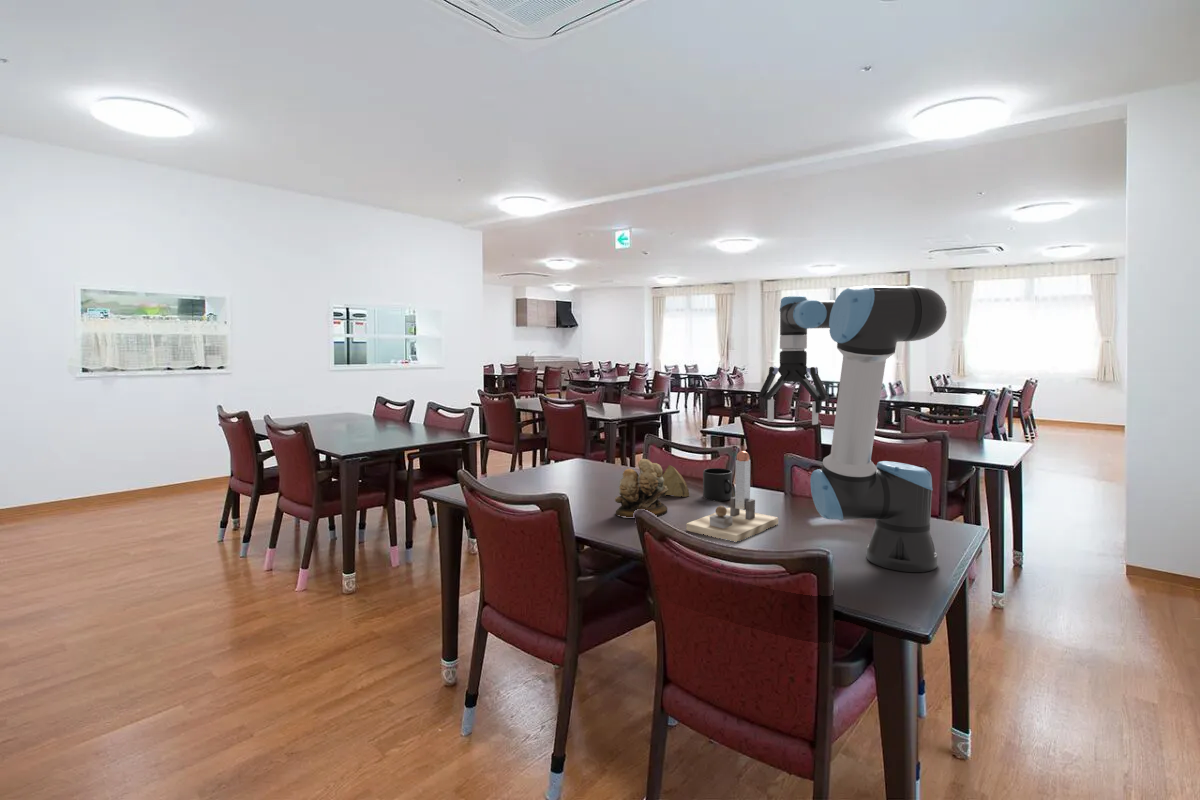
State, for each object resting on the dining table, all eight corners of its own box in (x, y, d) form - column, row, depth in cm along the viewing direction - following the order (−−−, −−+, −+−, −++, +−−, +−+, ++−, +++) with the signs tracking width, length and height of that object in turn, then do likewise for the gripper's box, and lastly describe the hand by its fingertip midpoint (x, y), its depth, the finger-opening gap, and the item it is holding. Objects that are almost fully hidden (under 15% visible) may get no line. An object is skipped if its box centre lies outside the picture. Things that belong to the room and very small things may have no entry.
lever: (740, 505, 180) (740, 449, 178) (751, 507, 177) (752, 450, 176) (733, 508, 177) (734, 451, 176) (744, 510, 175) (745, 452, 173)
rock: (698, 489, 209) (681, 479, 218) (687, 471, 205) (670, 462, 214) (675, 511, 207) (659, 500, 215) (664, 493, 203) (647, 483, 211)
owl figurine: (656, 504, 200) (656, 452, 198) (677, 513, 189) (678, 458, 188) (607, 512, 191) (607, 458, 189) (627, 522, 181) (628, 464, 179)
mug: (719, 504, 198) (720, 476, 198) (697, 496, 209) (697, 470, 208) (742, 500, 203) (743, 473, 202) (719, 492, 213) (719, 467, 213)
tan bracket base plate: (729, 513, 188) (730, 489, 187) (778, 524, 176) (778, 498, 176) (686, 530, 172) (686, 504, 171) (736, 543, 161) (736, 515, 160)
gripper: (841, 349, 175) (839, 424, 176) (759, 350, 191) (758, 418, 193) (831, 349, 169) (830, 426, 171) (748, 350, 185) (747, 421, 187)
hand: (792, 422), depth 182 cm, fingers open, 13 cm apart
